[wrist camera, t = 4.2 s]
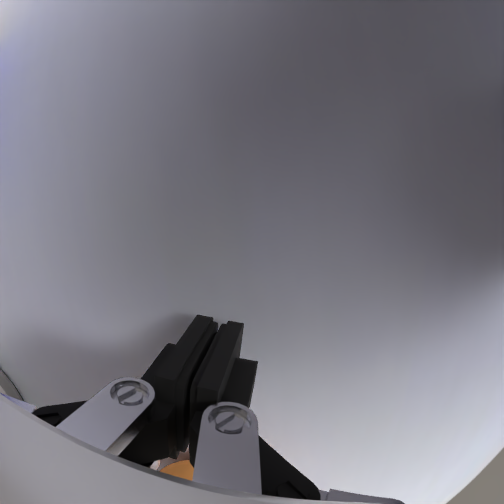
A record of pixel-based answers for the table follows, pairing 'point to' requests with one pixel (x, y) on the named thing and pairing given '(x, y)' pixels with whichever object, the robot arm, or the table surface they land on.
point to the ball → (180, 469)
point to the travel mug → (8, 387)
